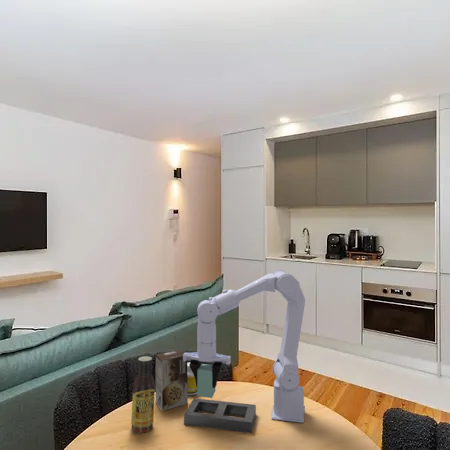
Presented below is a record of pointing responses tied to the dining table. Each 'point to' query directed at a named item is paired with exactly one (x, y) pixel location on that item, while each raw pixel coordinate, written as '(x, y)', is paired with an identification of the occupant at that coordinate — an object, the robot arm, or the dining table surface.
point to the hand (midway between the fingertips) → (206, 385)
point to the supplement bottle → (191, 381)
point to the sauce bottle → (143, 397)
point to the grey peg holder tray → (220, 415)
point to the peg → (205, 381)
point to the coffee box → (171, 380)
